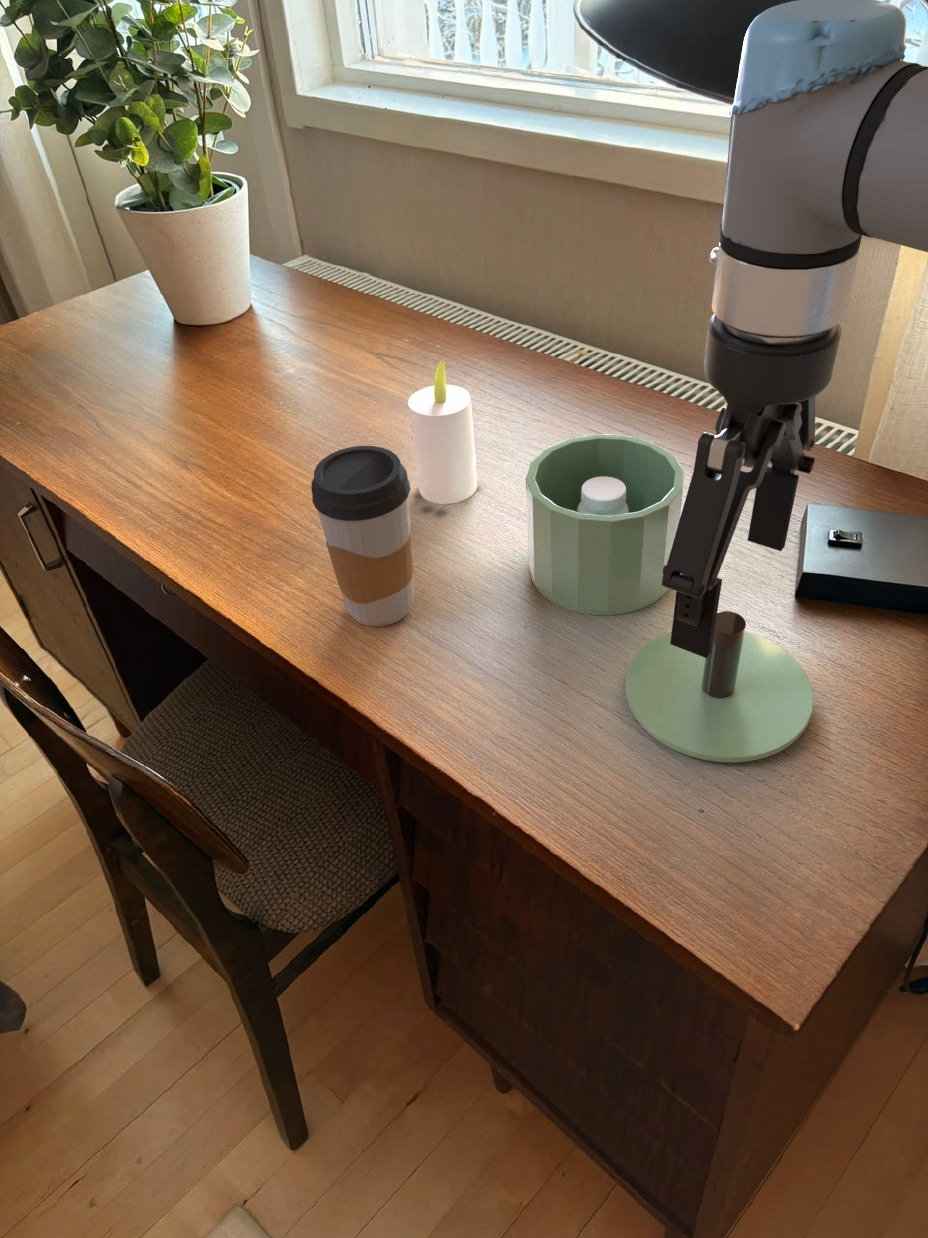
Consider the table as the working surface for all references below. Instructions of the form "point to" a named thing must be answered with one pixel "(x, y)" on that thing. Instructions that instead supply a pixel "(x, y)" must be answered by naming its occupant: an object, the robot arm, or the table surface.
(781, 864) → the table surface
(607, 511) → the supplement bottle
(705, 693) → the lid
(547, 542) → the pot
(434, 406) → the candle
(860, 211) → the robot arm
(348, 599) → the coffee cup
